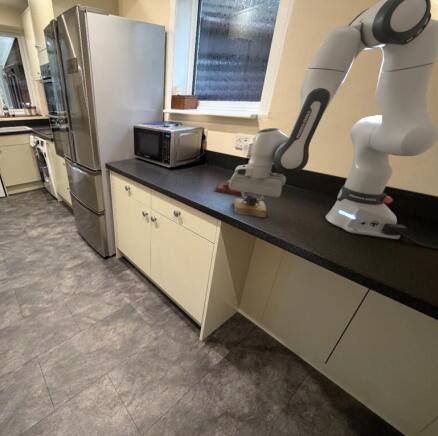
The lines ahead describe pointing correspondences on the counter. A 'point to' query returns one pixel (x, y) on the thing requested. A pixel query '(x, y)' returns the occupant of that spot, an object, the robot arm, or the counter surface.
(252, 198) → the volume dial
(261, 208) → the volume panel
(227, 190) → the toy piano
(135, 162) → the counter surface
